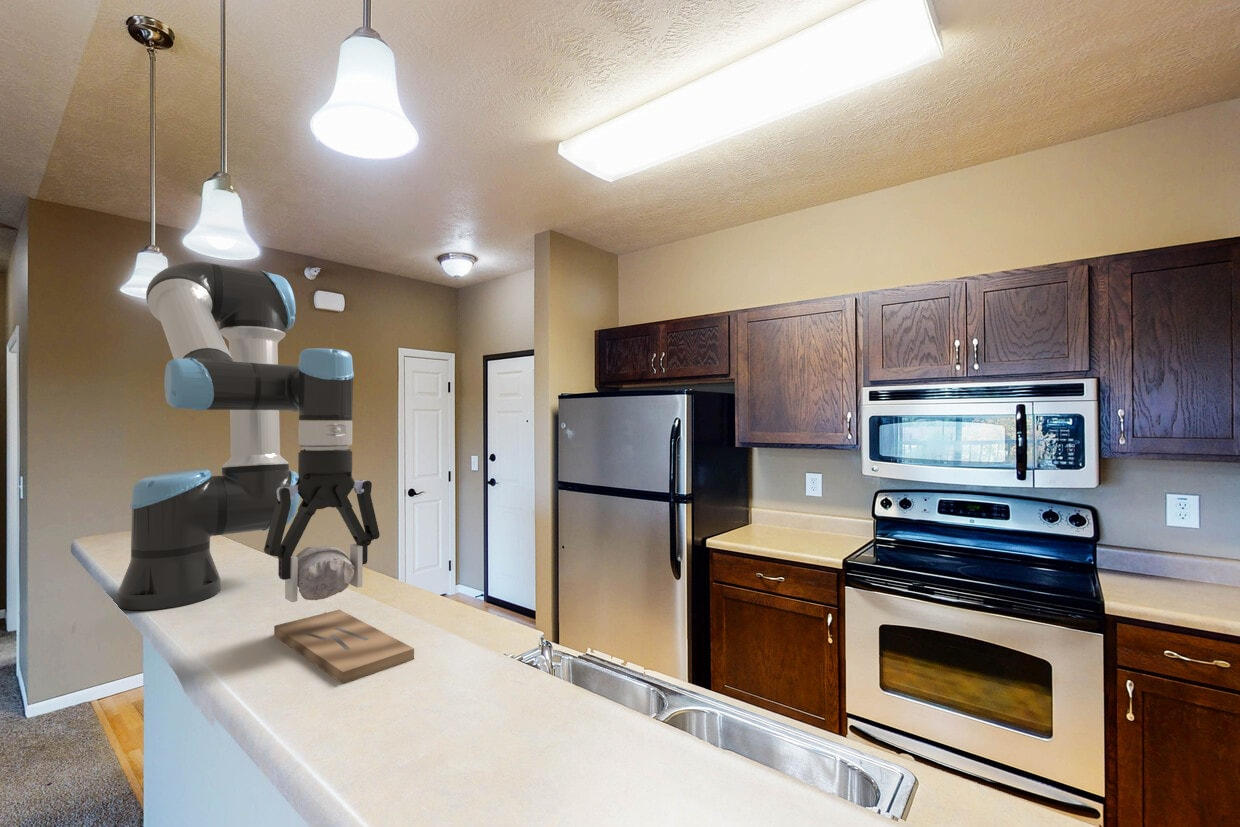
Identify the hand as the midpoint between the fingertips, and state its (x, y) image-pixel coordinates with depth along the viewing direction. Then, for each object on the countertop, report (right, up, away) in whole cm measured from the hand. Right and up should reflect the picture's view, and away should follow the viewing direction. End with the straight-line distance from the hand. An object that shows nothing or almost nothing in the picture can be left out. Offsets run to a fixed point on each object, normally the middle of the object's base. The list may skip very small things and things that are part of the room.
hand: (324, 592), depth 89 cm
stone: (0, 0, 0) cm, 1 cm away
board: (+4, -7, -4) cm, 9 cm away
